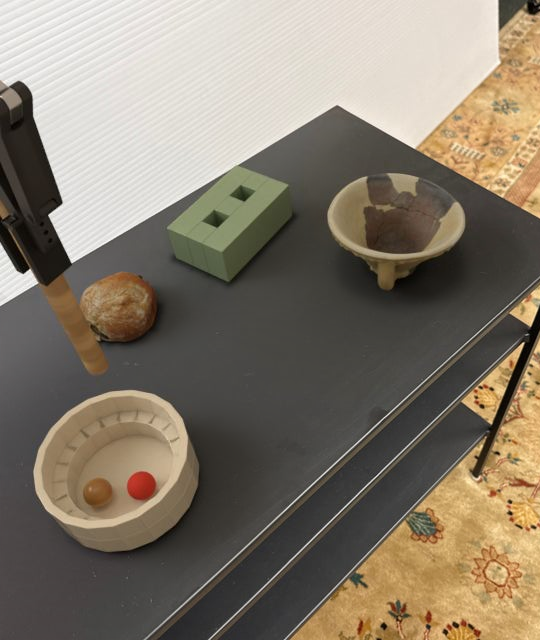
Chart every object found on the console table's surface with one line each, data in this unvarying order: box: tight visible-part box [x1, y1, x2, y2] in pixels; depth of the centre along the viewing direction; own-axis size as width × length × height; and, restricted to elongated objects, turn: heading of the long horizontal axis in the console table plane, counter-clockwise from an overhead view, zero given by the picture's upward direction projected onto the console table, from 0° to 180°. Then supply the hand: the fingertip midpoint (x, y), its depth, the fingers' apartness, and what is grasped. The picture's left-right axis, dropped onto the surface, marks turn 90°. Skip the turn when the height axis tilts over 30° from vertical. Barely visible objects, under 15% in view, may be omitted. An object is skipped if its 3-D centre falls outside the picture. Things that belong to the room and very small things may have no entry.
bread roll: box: [79, 271, 158, 343], centre depth 86 cm, size 10×10×8 cm
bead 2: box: [127, 471, 156, 500], centre depth 69 cm, size 3×3×3 cm
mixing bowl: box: [33, 389, 200, 553], centre depth 69 cm, size 16×16×7 cm
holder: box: [166, 164, 293, 283], centre depth 94 cm, size 10×16×6 cm, turn 148°
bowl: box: [326, 172, 466, 291], centre depth 88 cm, size 18×18×10 cm
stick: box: [0, 200, 109, 376], centre depth 53 cm, size 2×2×22 cm
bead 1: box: [83, 478, 113, 507], centre depth 69 cm, size 3×3×3 cm
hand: (44, 267), depth 51 cm, fingers closed on stick, 2 cm apart
